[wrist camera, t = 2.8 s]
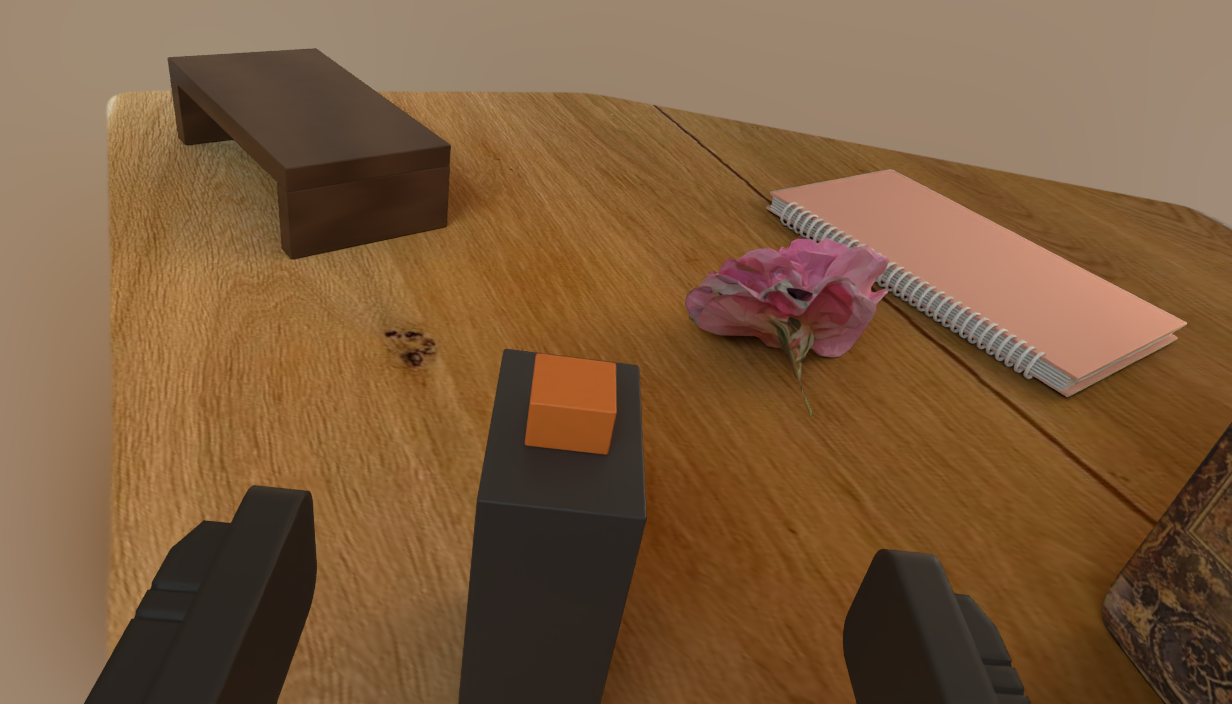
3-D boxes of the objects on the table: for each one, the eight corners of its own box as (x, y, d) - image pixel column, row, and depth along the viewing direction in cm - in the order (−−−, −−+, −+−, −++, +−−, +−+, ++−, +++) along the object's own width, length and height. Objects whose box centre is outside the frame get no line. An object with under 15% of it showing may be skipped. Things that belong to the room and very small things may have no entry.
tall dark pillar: (453, 753, 29) (481, 454, 21) (479, 588, 35) (508, 306, 27) (585, 763, 29) (658, 474, 22) (589, 599, 35) (648, 324, 28)
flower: (685, 352, 57) (753, 217, 57) (822, 421, 55) (895, 281, 54) (649, 334, 46) (734, 167, 46) (820, 420, 44) (911, 243, 43)
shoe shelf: (291, 259, 53) (285, 168, 49) (178, 137, 64) (167, 57, 61) (447, 226, 59) (451, 144, 56) (319, 121, 71) (316, 47, 67)
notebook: (756, 212, 69) (762, 190, 68) (885, 186, 79) (892, 166, 78) (1056, 405, 53) (1071, 379, 52) (1174, 342, 62) (1189, 319, 61)
